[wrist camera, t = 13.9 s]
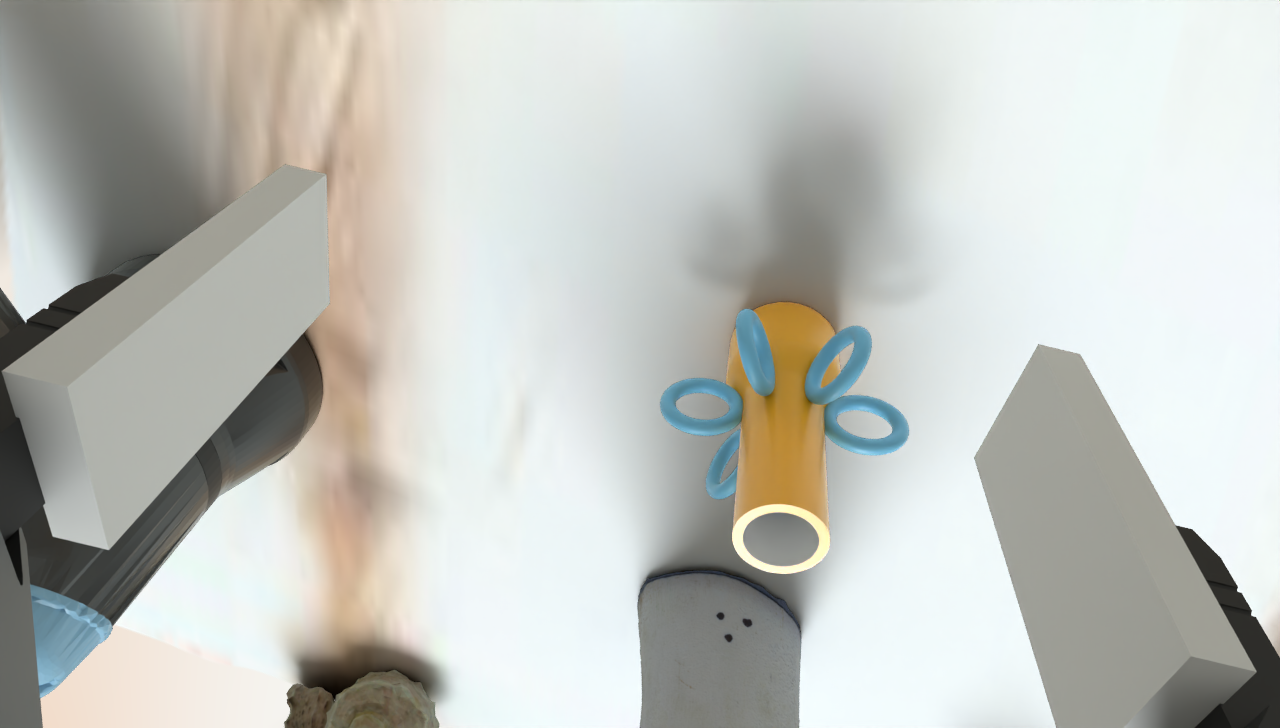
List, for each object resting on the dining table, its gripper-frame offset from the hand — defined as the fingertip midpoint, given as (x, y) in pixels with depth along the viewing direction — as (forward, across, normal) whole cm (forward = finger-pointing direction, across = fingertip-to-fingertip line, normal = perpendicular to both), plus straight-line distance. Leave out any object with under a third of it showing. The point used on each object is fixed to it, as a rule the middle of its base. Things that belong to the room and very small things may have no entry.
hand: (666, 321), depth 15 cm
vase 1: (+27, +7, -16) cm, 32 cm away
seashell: (+28, -16, -61) cm, 69 cm away
